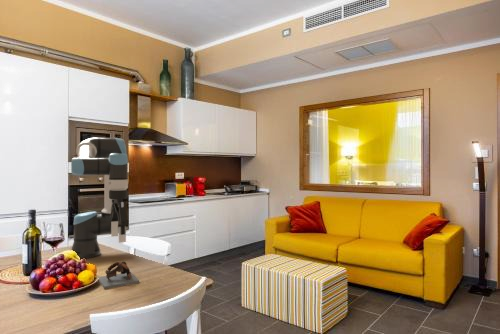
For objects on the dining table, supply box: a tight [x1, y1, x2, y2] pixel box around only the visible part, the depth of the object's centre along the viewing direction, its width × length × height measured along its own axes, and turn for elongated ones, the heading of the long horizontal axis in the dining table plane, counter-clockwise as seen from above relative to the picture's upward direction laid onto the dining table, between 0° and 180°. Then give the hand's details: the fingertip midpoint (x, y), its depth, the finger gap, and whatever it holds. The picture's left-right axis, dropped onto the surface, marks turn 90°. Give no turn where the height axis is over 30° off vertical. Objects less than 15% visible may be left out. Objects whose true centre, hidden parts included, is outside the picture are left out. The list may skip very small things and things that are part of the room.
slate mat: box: [97, 271, 141, 290], centre depth 148 cm, size 14×14×1 cm
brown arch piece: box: [105, 261, 132, 280], centre depth 149 cm, size 12×10×8 cm
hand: (118, 239), depth 149 cm, fingers open, 13 cm apart
